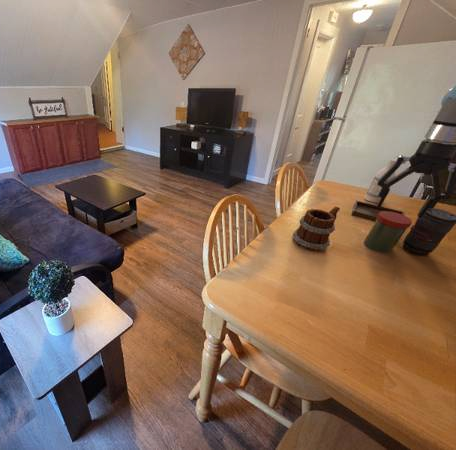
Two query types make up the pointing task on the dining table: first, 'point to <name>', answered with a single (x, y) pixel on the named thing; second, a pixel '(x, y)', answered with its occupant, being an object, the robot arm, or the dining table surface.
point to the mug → (315, 229)
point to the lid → (394, 219)
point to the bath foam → (374, 188)
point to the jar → (383, 237)
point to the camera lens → (428, 231)
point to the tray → (370, 210)
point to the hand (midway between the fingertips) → (398, 211)
